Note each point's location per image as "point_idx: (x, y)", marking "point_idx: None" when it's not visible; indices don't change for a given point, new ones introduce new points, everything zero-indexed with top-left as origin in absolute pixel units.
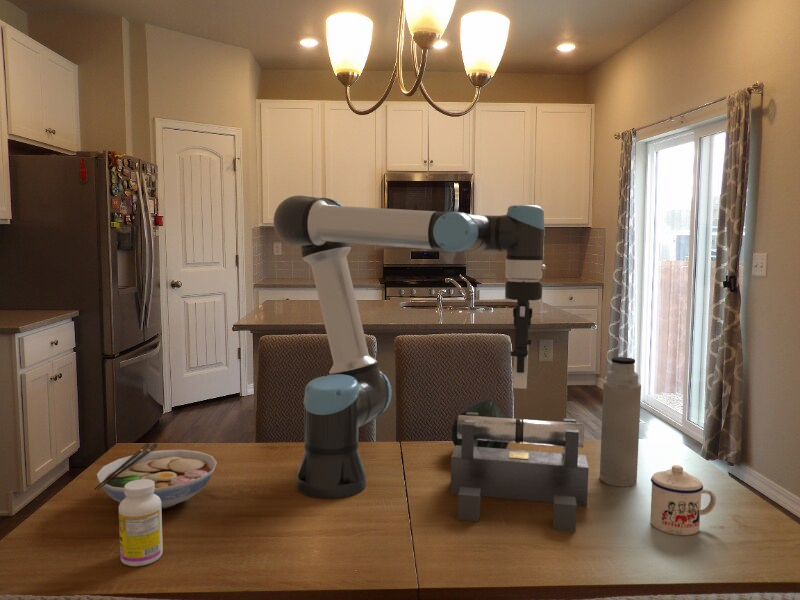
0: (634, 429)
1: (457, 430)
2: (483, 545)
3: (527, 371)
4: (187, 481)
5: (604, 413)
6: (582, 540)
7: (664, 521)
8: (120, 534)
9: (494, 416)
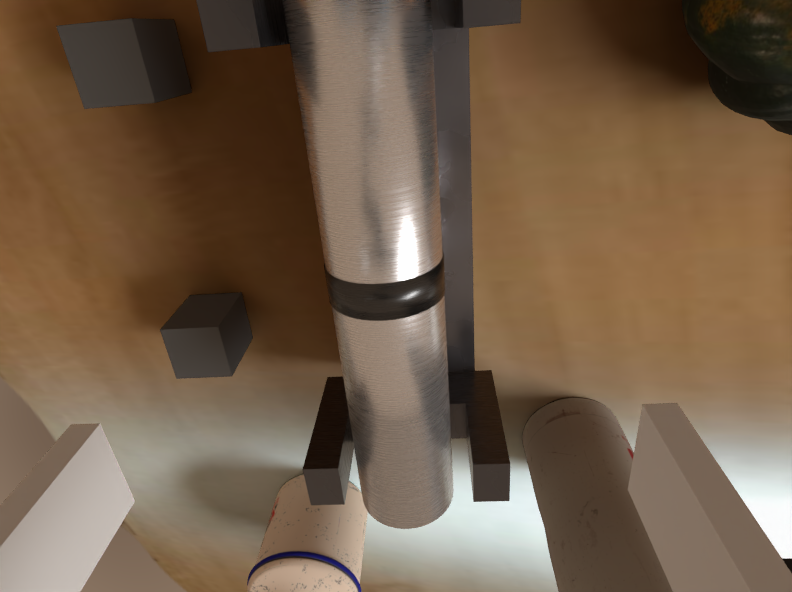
0: None
1: None
2: (2, 136)
3: (640, 514)
4: None
5: (619, 584)
6: (165, 352)
7: (275, 504)
8: None
9: None
